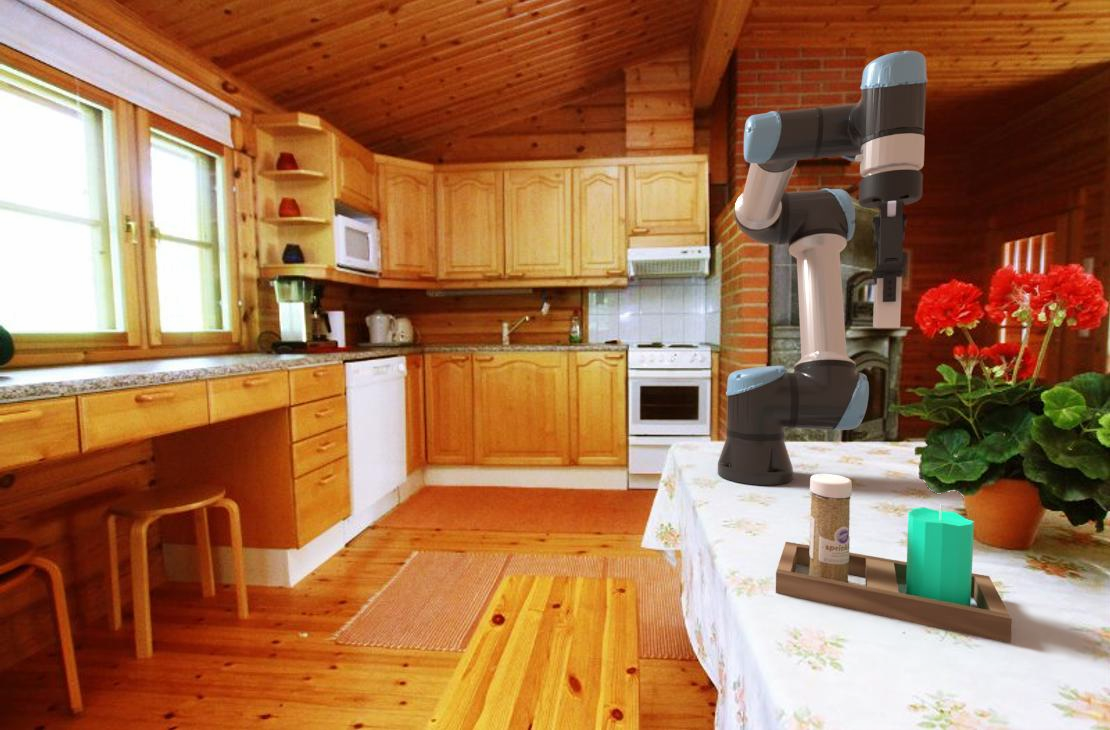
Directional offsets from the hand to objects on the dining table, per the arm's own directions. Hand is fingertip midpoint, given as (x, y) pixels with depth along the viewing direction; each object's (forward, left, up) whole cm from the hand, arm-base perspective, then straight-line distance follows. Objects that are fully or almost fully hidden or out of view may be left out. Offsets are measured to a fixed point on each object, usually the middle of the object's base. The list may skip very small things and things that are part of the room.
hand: (885, 327), depth 76 cm
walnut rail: (+17, 0, -32) cm, 36 cm away
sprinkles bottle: (+17, -6, -32) cm, 36 cm away
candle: (+17, +5, -32) cm, 36 cm away
